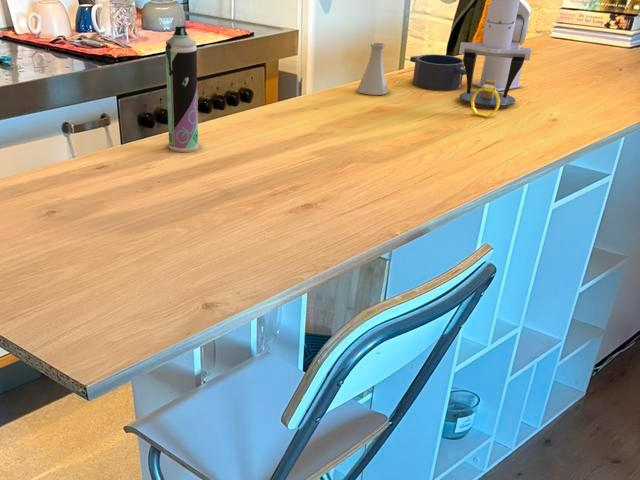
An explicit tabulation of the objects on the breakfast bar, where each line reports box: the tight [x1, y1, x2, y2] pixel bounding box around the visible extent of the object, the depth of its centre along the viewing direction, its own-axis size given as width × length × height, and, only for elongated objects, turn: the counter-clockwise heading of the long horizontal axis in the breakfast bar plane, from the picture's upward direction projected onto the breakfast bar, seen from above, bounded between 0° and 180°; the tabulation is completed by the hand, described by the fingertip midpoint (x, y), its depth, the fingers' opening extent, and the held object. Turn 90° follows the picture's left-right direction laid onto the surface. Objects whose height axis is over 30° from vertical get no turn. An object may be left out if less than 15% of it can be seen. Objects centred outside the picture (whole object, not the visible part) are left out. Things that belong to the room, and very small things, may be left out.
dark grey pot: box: [409, 53, 466, 92], centre depth 196 cm, size 12×17×6 cm
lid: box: [459, 79, 517, 109], centre depth 184 cm, size 13×13×5 cm
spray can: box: [164, 25, 199, 153], centre depth 146 cm, size 6×6×20 cm
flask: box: [357, 42, 389, 96], centre depth 187 cm, size 7×7×10 cm
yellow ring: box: [470, 85, 500, 118], centre depth 175 cm, size 6×3×6 cm, turn 61°
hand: (486, 94), depth 174 cm, fingers open, 7 cm apart
